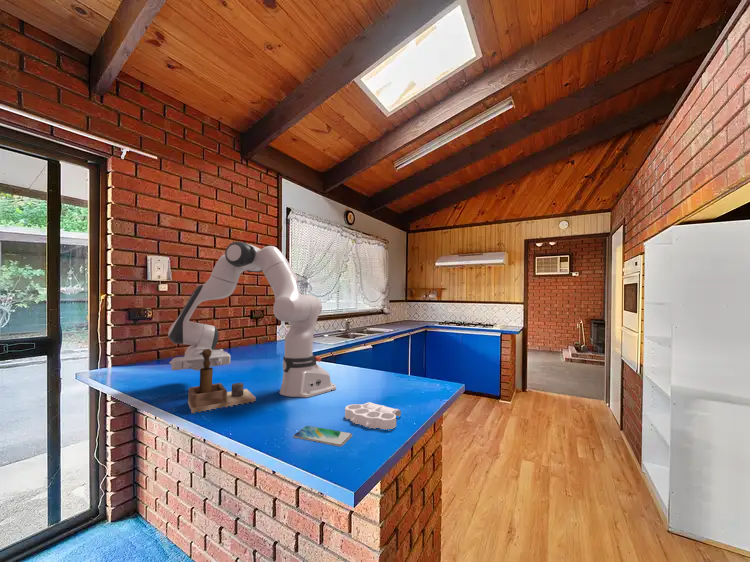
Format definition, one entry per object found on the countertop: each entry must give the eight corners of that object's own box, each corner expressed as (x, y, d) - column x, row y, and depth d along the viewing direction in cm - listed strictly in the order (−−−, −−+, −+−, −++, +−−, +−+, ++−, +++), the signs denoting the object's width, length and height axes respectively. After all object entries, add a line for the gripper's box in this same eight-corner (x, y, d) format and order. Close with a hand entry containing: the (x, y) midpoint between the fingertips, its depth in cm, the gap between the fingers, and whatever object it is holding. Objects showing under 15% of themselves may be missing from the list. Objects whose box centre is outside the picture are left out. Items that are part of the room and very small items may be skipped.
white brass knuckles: (409, 420, 97) (383, 437, 85) (364, 408, 108) (335, 421, 96) (409, 409, 97) (383, 424, 85) (364, 398, 108) (335, 410, 96)
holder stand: (246, 392, 123) (246, 378, 123) (255, 401, 112) (255, 386, 113) (187, 402, 111) (188, 387, 111) (191, 413, 101) (192, 396, 101)
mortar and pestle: (219, 398, 112) (221, 347, 113) (208, 404, 105) (210, 350, 106) (202, 397, 112) (204, 347, 113) (190, 403, 106) (191, 350, 107)
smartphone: (341, 445, 79) (291, 435, 84) (341, 448, 79) (291, 439, 84) (353, 433, 86) (306, 424, 91) (353, 436, 86) (306, 428, 91)
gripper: (169, 353, 121) (171, 359, 109) (226, 348, 133) (233, 353, 121) (168, 369, 120) (170, 377, 109) (226, 363, 132) (233, 369, 121)
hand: (204, 364), depth 115 cm, fingers open, 8 cm apart
